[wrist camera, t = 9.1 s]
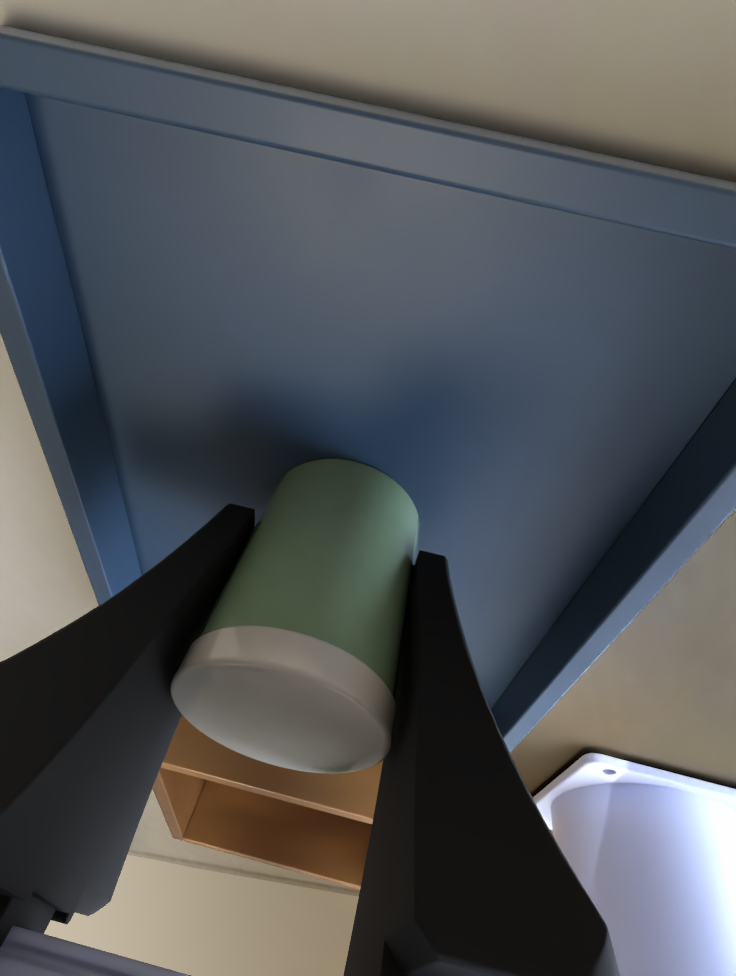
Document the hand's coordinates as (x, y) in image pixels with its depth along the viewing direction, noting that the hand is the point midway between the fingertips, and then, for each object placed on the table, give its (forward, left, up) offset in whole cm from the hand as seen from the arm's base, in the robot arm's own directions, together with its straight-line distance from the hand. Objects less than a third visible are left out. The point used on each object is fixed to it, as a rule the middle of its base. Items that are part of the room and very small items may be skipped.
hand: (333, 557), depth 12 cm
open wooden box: (0, +17, -2) cm, 17 cm away
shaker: (0, 0, -1) cm, 1 cm away
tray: (0, 0, -2) cm, 2 cm away
